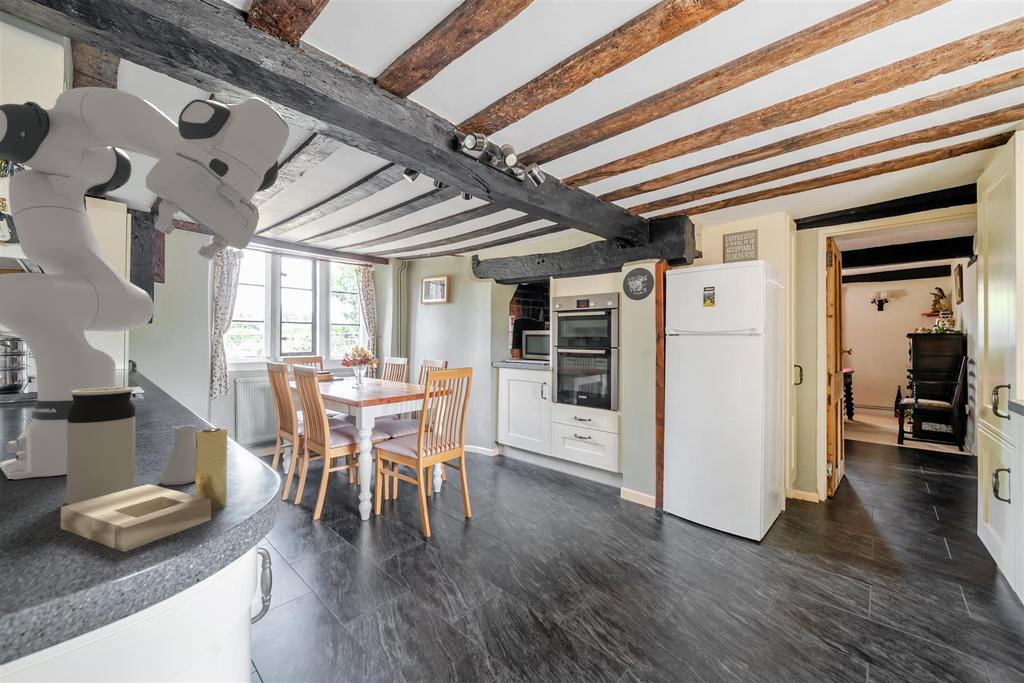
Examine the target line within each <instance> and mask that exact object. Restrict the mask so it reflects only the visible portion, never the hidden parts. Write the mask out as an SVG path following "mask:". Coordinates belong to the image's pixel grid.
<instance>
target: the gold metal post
mask: <svg viewBox="0 0 1024 683" xmlns="http://www.w3.org/2000/svg"><path fill="white" fill-rule="evenodd" d="M195 442H196V444H195V481H194V482H195V483H194V486H195V487H194V495H195V496H199V497H203V498H207V499H211V512H214V511H217V509H218V510H220V508H221V509H223V508H224V506H225V505H226V504H227V503H228V502H227V501H228V500H227V496H228V494H227V493H228V491H227V489H228V485H227V484H228V482H227V481H228V479H227V478H228V476H227V475H228V428H225V427H213V428H206V429H201V430H197V431H195ZM227 505H228V504H227ZM227 505H226V506H227ZM226 506H225V507H226ZM222 507H223V508H222Z"/></svg>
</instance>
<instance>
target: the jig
mask: <svg viewBox="0 0 1024 683" xmlns="http://www.w3.org/2000/svg"><path fill="white" fill-rule="evenodd" d="M211 520H212V511H211V499H207V498H203V497H199V496H195V494H190V493H188V492H187V493H186V492H183V491H180V490H179V491H178V490H174V489H170V488H166V487H161V486H157V485H153V484H150V483H147V484H144V485H139V486H135V488H131V489H127V490H123V491H120V492H116V493H112V494H108V495H104V496H101V497H97V498H93V499H89V500H85V501H81V502H78V503H74V504H67V505H63V506H60V529H61V530H64V531H66V532H69V533H71V534H74V535H77V536H80V537H82V538H85V539H88V540H91V541H92V542H93V541H94V542H96V543H98V544H100V545H101V544H102V545H104V546H106V547H109V548H112V549H114V550H117V551H119V552H122V553H126V552H128V551H131V550H134V549H137V548H140V547H142V546H145V545H148V544H150V543H152V542H154V541H158V540H161V539H164V538H167V537H169V536H172V535H175V534H177V533H180V532H182V531H185V530H188V529H191V528H192V527H193V528H194V527H195V526H198V525H201V524H204V523H206V522H209V521H211Z"/></svg>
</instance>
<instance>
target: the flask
mask: <svg viewBox="0 0 1024 683" xmlns="http://www.w3.org/2000/svg"><path fill="white" fill-rule="evenodd" d="M196 429H197V425H193V424H192V425H191V424H190V425H188V424H187V425H180V426H176V427H173V429H172V430H173V432H175V437H174V438H175V439H174V443H173V447H172V450H171V452H170V455H169V457H168V460H167V462H166V464H165V466H164V469H163V470H162V472H161V475H160V476H159V479H158V482H157V483H159V484H160V485H164V486H177V485H178V486H179V485H180V486H181V485H182V486H183V485H185V484H190V483H193V482H195V444H196V436H195V430H196Z"/></svg>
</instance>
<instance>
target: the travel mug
mask: <svg viewBox="0 0 1024 683" xmlns="http://www.w3.org/2000/svg"><path fill="white" fill-rule="evenodd" d="M133 391H134V387H129V386H118V387H117V386H115V387H106V388H90V389H80V390H73V391H71V392H70V394H71V395H72V396H73V401H74V404H73V405H72V406H71V408H70V409H69V411H68V412H67V474H66V504H67V505H70V504H74V503H78V502H81V501H85V500H89V499H93V498H97V497H101V496H104V495H108V494H112V493H116V492H120V491H123V490H127V489H131V488H135V487H136V486H135V485H136V480H135V479H136V405H135V404H134V403H133V401H132V399H131V396H132V392H133Z"/></svg>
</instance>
